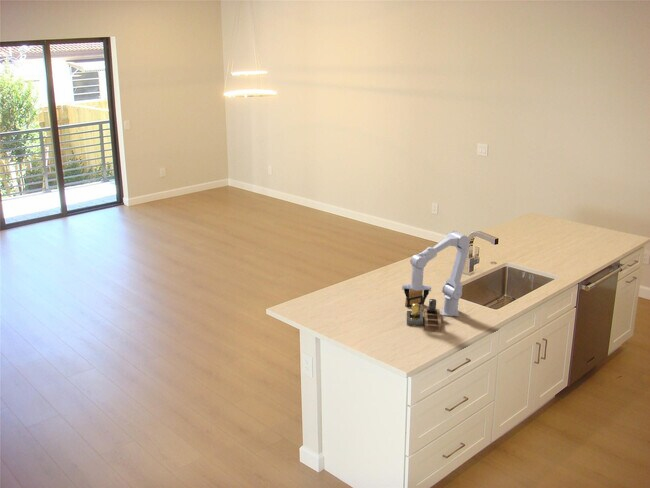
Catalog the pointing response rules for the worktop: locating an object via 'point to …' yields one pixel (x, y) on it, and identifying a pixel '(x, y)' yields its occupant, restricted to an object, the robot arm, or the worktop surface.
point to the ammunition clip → (414, 297)
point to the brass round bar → (415, 310)
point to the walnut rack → (432, 320)
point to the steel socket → (415, 319)
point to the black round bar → (432, 306)
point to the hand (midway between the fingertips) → (415, 303)
